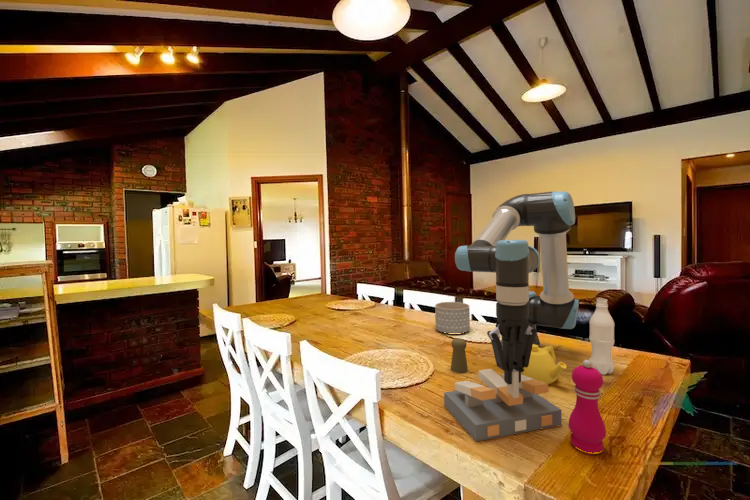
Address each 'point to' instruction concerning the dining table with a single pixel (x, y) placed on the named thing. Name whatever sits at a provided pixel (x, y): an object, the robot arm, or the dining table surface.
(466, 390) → the rocker
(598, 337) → the water bottle
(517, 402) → the rocker
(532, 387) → the rocker
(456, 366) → the olive brown shaker
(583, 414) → the pepper mill
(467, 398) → the switch box
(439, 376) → the dining table surface
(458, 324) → the planter
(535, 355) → the teapot
